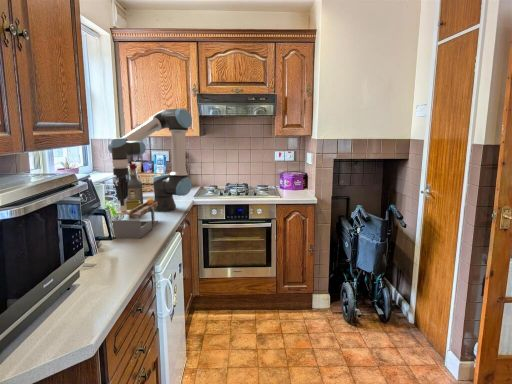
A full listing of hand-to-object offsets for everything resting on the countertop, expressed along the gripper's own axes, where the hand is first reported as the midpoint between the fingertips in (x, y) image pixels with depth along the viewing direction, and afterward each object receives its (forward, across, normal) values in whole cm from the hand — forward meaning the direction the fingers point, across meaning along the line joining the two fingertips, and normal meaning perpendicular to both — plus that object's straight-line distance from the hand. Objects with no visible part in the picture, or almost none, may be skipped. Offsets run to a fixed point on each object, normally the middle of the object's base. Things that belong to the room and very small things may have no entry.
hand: (123, 211), depth 195 cm
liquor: (+9, -47, -13) cm, 49 cm away
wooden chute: (+3, -6, +5) cm, 8 cm away
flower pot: (+9, -26, -6) cm, 28 cm away
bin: (+9, +11, +9) cm, 17 cm away
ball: (-2, -16, +9) cm, 18 cm away
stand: (+9, -6, +9) cm, 14 cm away
